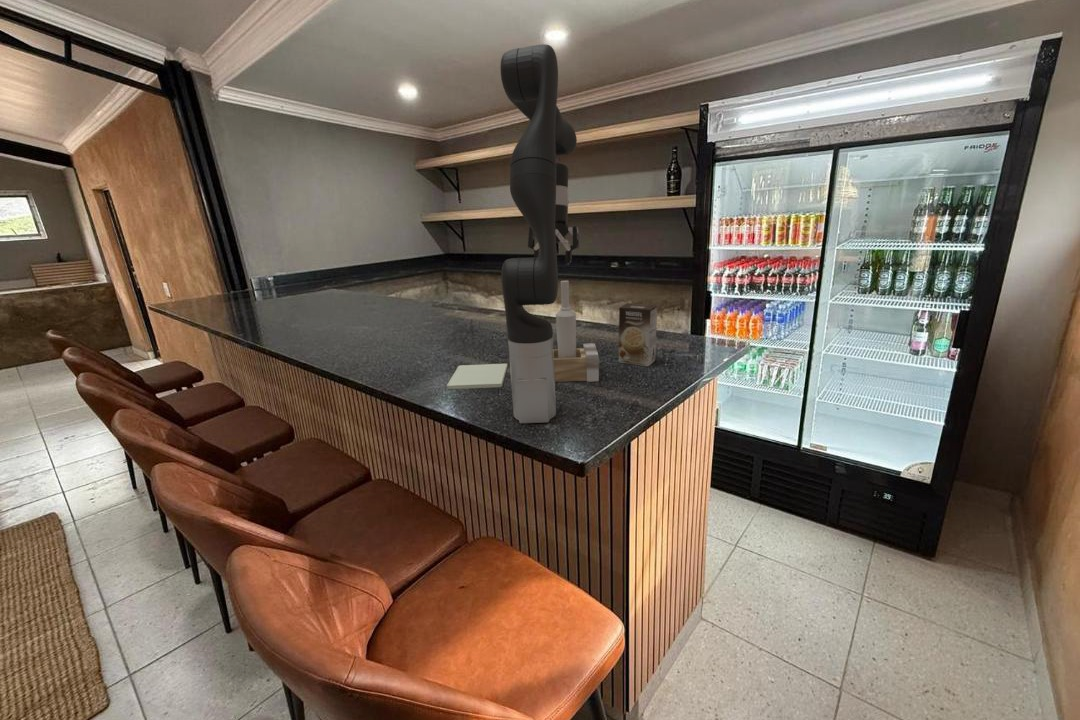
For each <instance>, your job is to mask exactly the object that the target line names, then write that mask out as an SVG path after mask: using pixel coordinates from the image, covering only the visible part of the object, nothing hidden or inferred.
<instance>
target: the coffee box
mask: <svg viewBox="0 0 1080 720" xmlns="http://www.w3.org/2000/svg"><path fill="white" fill-rule="evenodd" d="M618 308H619V309H618V310H619V313H618V316H619V317H618V363H621V364H627V365H635V366H642V367H649V366H651V365H652V364H653V363H654V362H655V361H656V348H657V347H656V345H657V325H658V324H657V322H658V320H657V319H658V305H655V304H654V305H653V304H640V303H628V302H626V303H625V304H623V305H622V306H620V307H618Z"/></svg>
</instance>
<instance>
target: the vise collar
mask: <svg viewBox="0 0 1080 720" xmlns="http://www.w3.org/2000/svg"><path fill="white" fill-rule="evenodd" d="M582 345H583V347H576V357H574V358H558V348H553V354H554V377H555V383H559V382H560V383H561V382H583V381H584V382H585V381H586V383H587V382H589V383H591V382H599V381H600V370H599V368H600V367H599V362H600V360H599V353H598V350H597V346H596V344H595V343H594V342H589V343H583V344H582Z"/></svg>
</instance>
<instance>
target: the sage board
mask: <svg viewBox="0 0 1080 720" xmlns="http://www.w3.org/2000/svg"><path fill="white" fill-rule="evenodd" d="M507 370H508V363H492V364H491V363H489V364H488V363H487V364H486V363H485V364H462V365H461V364H460V365H458V366H457V368H456V370H455V371H454V373H453V375H452V376H451V378H450V379H449V382H448V383H447V385H446V389H447V390H466V389H469V390H470V389H490V388H491V389H492V388H502V387H503V384H504V380H505V377H506V373H507Z"/></svg>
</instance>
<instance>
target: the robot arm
mask: <svg viewBox="0 0 1080 720" xmlns="http://www.w3.org/2000/svg"><path fill="white" fill-rule="evenodd" d="M556 54H557V53H556V51H555V49H554V48H553V47H552V46H551V45H550V44H543V43H542V44H535V45H529V46H524V47H518V48H513V49H509V50H507V51H505V52H504V53H503V54H502V56H501V59H500V67H499V68H500V79H501V83H502V88H503V90H504V92H505V94H506V96H507V98H508V100H510V102H511V104H513V105H514V106H515V107H516V109H518V110H519V111H520V112H521V113H522V114H523V115H524V116H525V117H526V118H527V119H528V120H529V121H530V122H529V123H528V125H527V127H526V129H525V130H524V132H523V134H522V135H521V137H520V139H519V140H518V142H517V143H516V145H515V147H514V149H513V151H512V153H511V157H510V161H509V162H510V163H509V164H510V165H509V190H510V192H509V193H510V196H511V199H512V200H513V202H514V204H515V206H516V207H517V209H518V211H519V212H520V214H521V215H522V216H523V218H524V219H525V220H526V222H527V224H528V225H529V228H528V238H527V241H528V242H527V248H528V249H531V250H533V255H534V256H533V257H515V258H514V257H512V258H508V259H505V260H504V262H503V264H502V267H501V273H500V274H501V275H500V276H501V277H500V278H501V279H500V280H501V289H502V296H503V298H502V299H503V303H504V313H505V322H506V323H505V324H506V332H507V343H508V355H509V368H510V369H509V370H510V384H511V385H510V386H511V398H512V410H513V417H514V418H515V419H516V420H517V421H518V422H519V424H536V423H537V424H538V423H544V424H545V423H549V422H550V420H551V419H553V418H554V417H555V416H556V415H557V403H556V401H557V399H556V382H555V377H554V354H553V349H554V336H553V334H554V333H553V324H552V323H551V322H550V321H548V320H546V319H544V318H541V317H537V316H535V315H533V314H531V313H530V312H528V311H527V309H525V307H524V306H541V305H543V306H546V305H552V304H554V303H555V302H556V300H557V297H558V290H559V289H558V288H559V276H558V275H559V270H558V255H557V254H558V253H557V244H558V243H561V244H562V245H563V247H564V248H565V250H566V251H565V255H564V257H565V258H564V260H565V261H564V265H565V266H570V264H571V263H572V261H573V260H572V257H573V255H572V254H573V251H575V250H578V249H579V248H580V243H579V240H580V239H579V237H580V236H579V235H580V234H579V227H577V226H568V220H569V219H568V215H569V213H568V212H569V191H568V190H569V168H568V166H567V165H565V164H563V163H560V162H557V156H567V155H571V154H572V153H573V152H574V151H575V149H576V148H577V144H578V143H577V139H578V138H577V134H576V131H575V129H574V127H573V126H572V125H571V123H569V122H568V121H567V120H566V119H564V118H563V115H562V113H561V111H560V109H559V107H558V106H557V104H558V103H557V102H558V91H559V89H558V86H559V85H558V83H559V68H558V57H557V55H556ZM568 233H570V235H571V236H572V245H571V244H570V242H569V241H568V239H567V238H566V236H567V234H568ZM536 241H537V243H536Z"/></svg>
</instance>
